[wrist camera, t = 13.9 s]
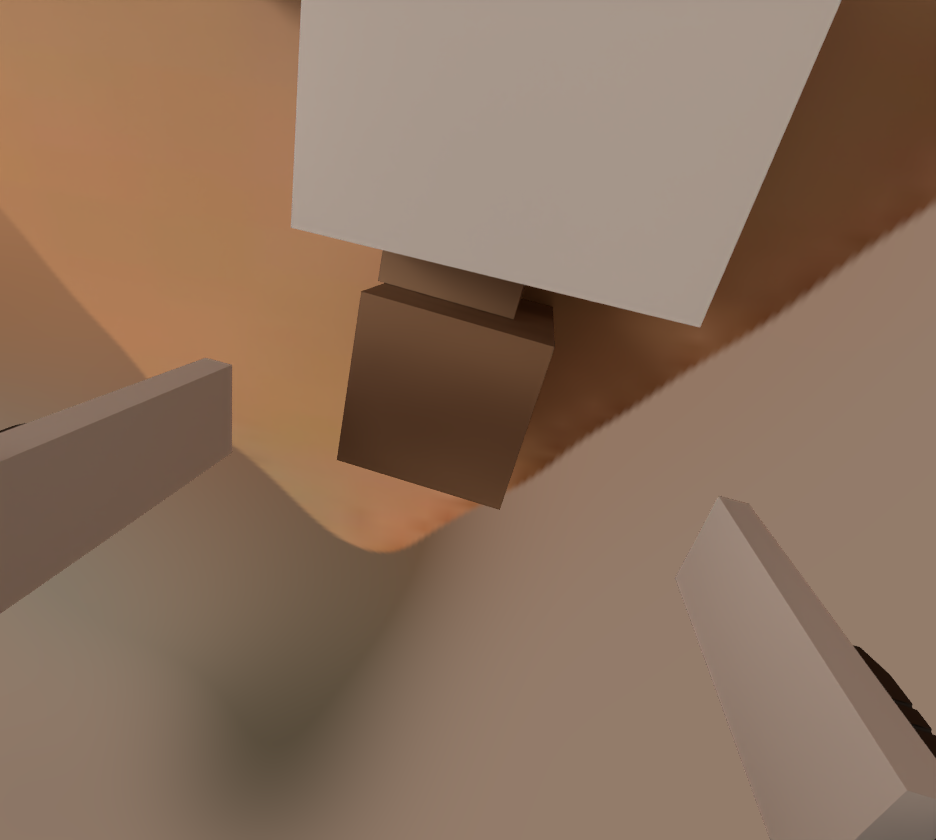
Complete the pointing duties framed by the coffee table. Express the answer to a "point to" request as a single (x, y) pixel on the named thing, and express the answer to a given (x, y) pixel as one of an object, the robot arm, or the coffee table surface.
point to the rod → (451, 284)
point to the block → (443, 390)
